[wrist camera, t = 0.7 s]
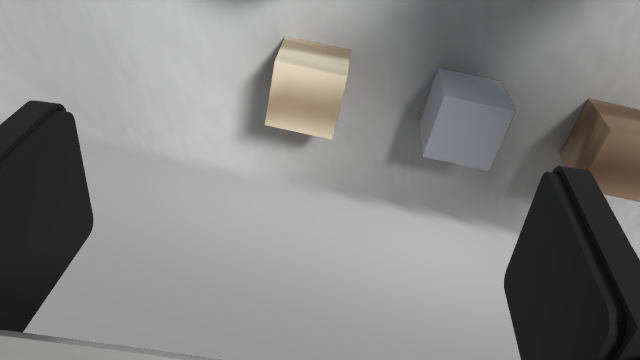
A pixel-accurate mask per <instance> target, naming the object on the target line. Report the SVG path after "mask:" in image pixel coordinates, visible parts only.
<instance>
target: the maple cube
mask: <svg viewBox="0 0 640 360" xmlns="http://www.w3.org/2000/svg"><path fill="white" fill-rule="evenodd" d="M350 53H351V50H347V49H342V48H338V47H333V46H329V45H324V44H320V43H315V42H311V41H306V40H302V39H297V38H293V37H289V36H285V38H284V40H283V42H282V45H281V47H280V50H279V52H278V54H277V57H276V59H275V63H274V69H273V75H272V82H271V88H270V94H269V101H268V107H267V113H266V120H265V125H267V126H272V127H276V128H281V129H285V130H290V131H294V132H299V133H304V134H308V135H313V136H317V137H322V138H327V139H331V140H332V139H333V135H334V131H335V126H336V122H337V118H338V114H339V110H340V106H341V102H342V98H343V94H344V89H345V85H346V81H347V77H348V69H349V61H350Z"/></svg>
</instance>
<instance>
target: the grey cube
mask: <svg viewBox="0 0 640 360" xmlns="http://www.w3.org/2000/svg"><path fill="white" fill-rule="evenodd" d="M515 112H516V111H515V109H514V107H513V104H512V102H511V100H510V98H509V95H508V93H507V91H506V88H505V86H504V84H503V82H501V81H497V80H492V79H488V78H483V77H479V76H474V75H470V74H466V73H461V72H457V71H452V70H448V69H443V68H439V67H438V69H437V72H436V75H435V78H434V81H433V84H432V87H431V90H430V93H429V96H428V99H427V101H426V104H425V107H424V110H423V113H422V116H421V119H420V122H419V133H420V141H421V149H422V157H425V158H430V159H435V160H439V161H444V162H448V163H453V164H457V165H462V166H467V167H471V168H476V169H480V170H485V171H489V170H490V168H491V165H492V163H493V161H494V159H495V157H496V154H497V152H498V150H499V148H500V145H501V143H502V141H503V139H504V136H505V134H506V132H507V130H508V128H509V125H510V123H511V121H512V119H513V116H514V114H515Z"/></svg>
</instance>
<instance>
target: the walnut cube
mask: <svg viewBox="0 0 640 360" xmlns="http://www.w3.org/2000/svg"><path fill="white" fill-rule="evenodd" d="M560 155H561V157H562V159H563V161H564V163H565V165H566V167H570V168H578V169H586V170H589V171H590V172H591V173H592V175H593V177H594V178H595V180H596V182H597V184H598V186H599V188H600V189H601V191H602V193H603V194H606V195H610V196H615V197H620V198H624V199H629V200H633V201H638V202H640V110H638V109H633V108H629V107H624V106H620V105H615V104H611V103H606V102H602V101H597V100H593V99H588V101H587V103H586V105H585V107H584V108H583V110H582V112H581V114H580V116H579V118H578V120H577V122H576V124H575V126H574V127H573V129H572V131H571V133H570V135H569V137H568V139H567V141H566V143H565V145H564V147H563V148H562V150H561V152H560Z"/></svg>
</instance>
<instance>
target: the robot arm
mask: <svg viewBox="0 0 640 360" xmlns="http://www.w3.org/2000/svg"><path fill="white" fill-rule="evenodd" d="M92 227H93V213H92V208H91V203H90V198H89V192H88V187H87V182H86V177H85V172H84V166H83V161H82V156H81V151H80V145H79V140H78V135H77V129H76V124H75V119H74V116H73V115H72V114H71V113H70V112H66V109H65V108H64V106H63V105H61V104H57V103H49V102H41V101H29V102H27V103H26V104H25V105H23V106H22V107H21V108H20V109H19V110H17V111H16V112H15V113H14V114H13V115H12V116H10V117H9V118H8V119H7V120H6V121H4V122H3V123H2V124H1V125H0V360H220V359H213V358H206V357H199V356H192V355H184V354H177V353H170V352H163V351H156V350H149V349H141V348H134V347H126V346H119V345H111V344H104V343H96V342H89V341H81V340H73V339H67V338H59V337H52V336H44V335H37V334H29V333H23V331H24V330H25V328H26V327H27V325H28V324H29V322H30V321H31V319H32V318H33V316H34V315H35V314H36V312H37V311H38V309H39V308H40V306H41V305H42V303H43V302H44V300H45V299H46V297H47V296H48V295H49V293H50V292H51V290H52V289H53V287H54V286H55V284H56V283H57V281H58V280H59V279H60V277H61V276H62V274H63V273H64V271H65V270H66V268H67V267H68V265H69V264H70V263H71V261H72V260H73V258H74V257H75V255H76V254H77V252H78V251H79V250H80V248H81V247H82V245H83V244H84V242H85V241H86V239H87V238H88V236H89V235H90V233H91V230H92ZM504 289H505V294H506V298H507V302H508V306H509V311H510V315H511V319H512V323H513V327H514V331H515V336H516V340H517V344H518V349H519V353H520V357H521V360H640V260H639V258H638V256H637V255H636V253H635V251H634V249H633V248H632V246H631V245H630V243H629V241H628V239H627V237H626V235H625V234H624V232H623V230H622V228H621V226H620V224H619V223H618V221H617V219H616V217H615V215H614V213H613V211H612V210H611V208H610V206H609V204H608V202H607V200H606V199H605V197H604V195H603V193H602V191H601V189H600V188H599V186H598V184H597V182H596V180H595V178H594V177H593V175H592V173H591V172H590V171H589V170H586V169H578V168H570V167H562V166H557V167H556V168H555V169H554V170H553V172H552V173H551V172H546V173H544V174H543V176H542V178H541V180H540V183H539V186H538V188H537V191H536V193H535V196H534V199H533V201H532V204H531V207H530V209H529V212H528V215H527V217H526V220H525V222H524V225H523V228H522V230H521V233H520V236H519V238H518V241H517V244H516V246H515V249H514V252H513V254H512V257H511V259H510V262H509V265H508V267H507V270H506V274H505V278H504Z"/></svg>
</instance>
